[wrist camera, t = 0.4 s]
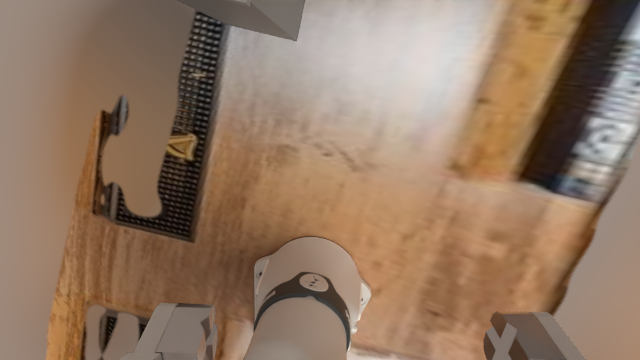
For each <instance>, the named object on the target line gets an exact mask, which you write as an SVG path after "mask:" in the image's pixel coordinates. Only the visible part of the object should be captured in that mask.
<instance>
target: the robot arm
mask: <svg viewBox="0 0 640 360" xmlns="http://www.w3.org/2000/svg"><path fill="white" fill-rule="evenodd" d="M260 272H263V273H262V275H261V274H260ZM370 297H371V288H370V287H369V285H368V284H367V283H366V282H365V281H364V280H363V279H362V278H361V277H360V275H359V273H358V270H357V268H356V265H355V263H354V261H353V259H352V258H351V256H350V255H349V254H348V253H347V252H346V251H345V250H344V249H343V248H342V247H340V246H339V245H337V244H336V243H334V242H332V241H329V240H327V239H323V238H318V237H303V238H298V239H295V240H292V241H290V242H288V243H286V244H285V245H283V246H282V247H281V248H280V249H279V250H277V251H276V252H275V253H274V254H272V255H269V256H266V257H263V258H260V259H258V260H257V261H256V263H255V266H254V303H255V324H254V334H253V337H252V339H251V342H250V344H249V347H248V349H247V352H246V354H245V357H244V359H243V360H347V355H346V353H348V351H349V349H350V346H351V341H352V340H351V338H350V337H351V333H352V334H355V333H356V331H357V327H358V326H357V325H356V322H357V320H360V317H361V313H362V311H363V310H364V308H365V306H366V304H367V303H368V301H369V299H370ZM362 298H363V299H362ZM215 317H216V310H215V306H214V305H203V304H183V303H178V304H176V303H160V304H159V305H158V306H157V307H156V308H155V310H154V312H153V314H152V316H151V318H150V320H149V322H148V324H147V326H146V328H145V330H144V332H143V334H142V336H141V338H140V340H139V342H138V344H137V346H136V348H135V350H134V352H133V353H126V354H125V355H124V356H123V357H121V358H120V359H119V360H214V357H215V353H216V347H217V340H218V329H217V325H216V324H215V323H214V320H215ZM490 321H491V323H492V325H493V327H492V328H490V329H489V330H488V331H486V334H485V337H484V352H485V355H486V358H487V360H586V359H585V358H584V357H583V355H582V354H581V353H580V351H579V350H578V349H577V348H576V346H575V345H574V344H573V342H572V341H571V340H570V338H569V337H568V336H567V335H566V333H565V332H564V331H563V329H562V328H561V327H560V325H559V324H558V323H557V322H556V320H555V319H554V318H553V316H552V315H550V314H549V313H547V312H498V311H496V312H495V313H494V314H493V315H492V317H491V320H490Z"/></svg>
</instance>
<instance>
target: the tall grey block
mask: <svg viewBox="0 0 640 360" xmlns="http://www.w3.org/2000/svg"><path fill="white" fill-rule="evenodd" d="M178 1H180V2H182V3H184V4H186V5H188V6H190V7H192V8H194V9H196V10H198V11H200V12H202V13H204V14H206V15H208V16H210V17H212V18H214V19H216V20H218V21H220V22H222V23H224V24H227V25H231V26H235V27H239V28H243V29H248V30H252V31H256V32H260V33H264V34H269V35H273V36H277V37H281V38H285V39H290V40H294V41H297V38H298V33H299V28H300V23H301V18H302V13H303V8H304V3H305V0H178Z"/></svg>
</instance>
